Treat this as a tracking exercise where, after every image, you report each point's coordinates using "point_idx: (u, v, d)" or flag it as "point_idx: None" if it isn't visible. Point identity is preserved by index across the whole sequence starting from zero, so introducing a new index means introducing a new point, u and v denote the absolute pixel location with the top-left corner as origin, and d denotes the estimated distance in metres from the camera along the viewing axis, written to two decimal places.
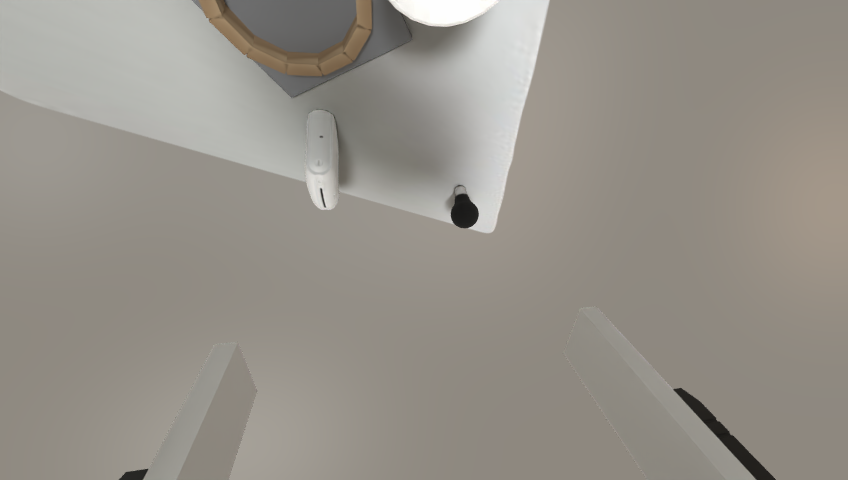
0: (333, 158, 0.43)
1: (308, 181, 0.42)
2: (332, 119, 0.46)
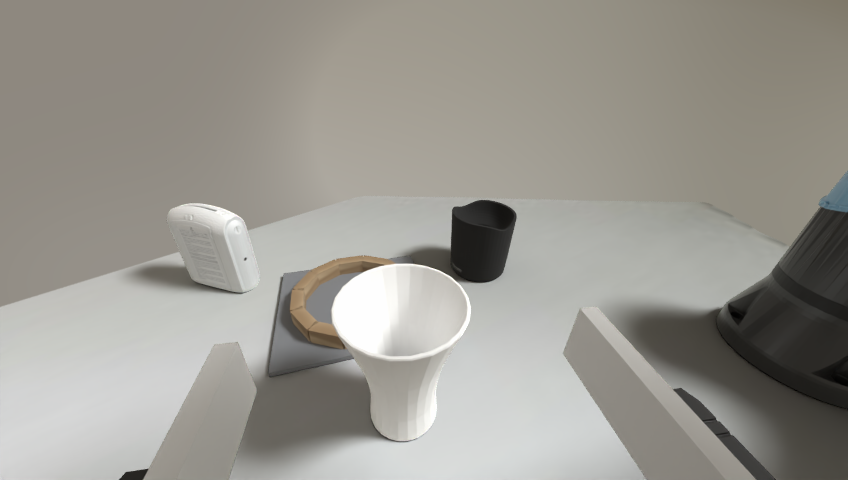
0: (224, 244, 0.40)
1: None
2: (241, 286, 0.44)
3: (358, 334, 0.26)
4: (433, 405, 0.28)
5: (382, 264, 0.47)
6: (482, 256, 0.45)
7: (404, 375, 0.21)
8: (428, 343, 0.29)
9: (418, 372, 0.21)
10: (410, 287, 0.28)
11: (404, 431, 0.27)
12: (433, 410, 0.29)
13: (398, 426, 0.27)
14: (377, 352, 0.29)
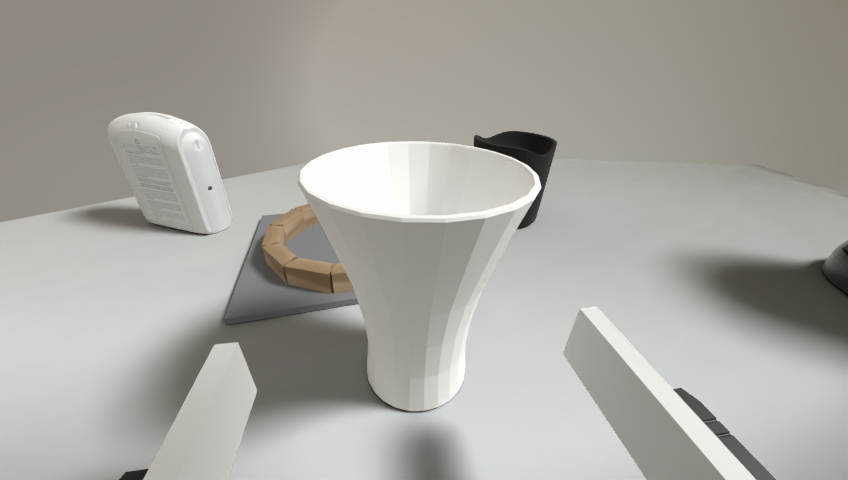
0: (180, 162, 0.30)
1: None
2: (205, 225, 0.34)
3: None
4: (462, 358, 0.19)
5: None
6: None
7: (428, 271, 0.11)
8: None
9: (453, 267, 0.12)
10: (429, 180, 0.19)
11: (419, 395, 0.17)
12: (462, 366, 0.19)
13: (410, 386, 0.17)
14: None
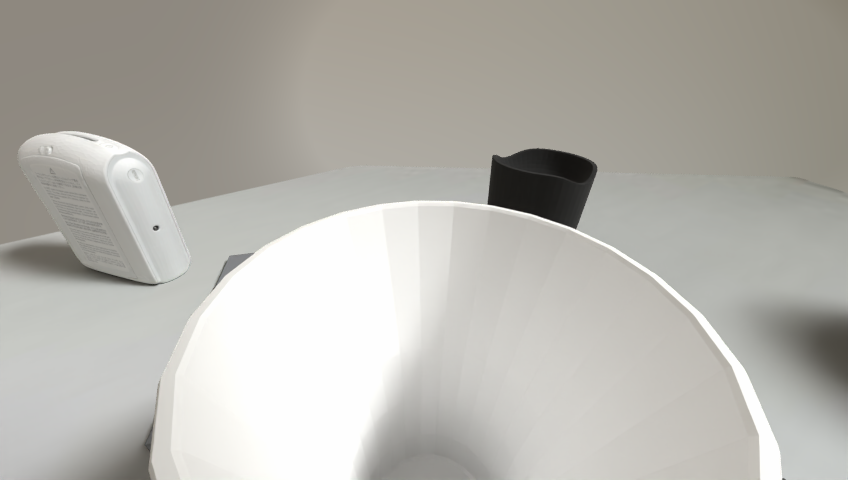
0: (110, 199, 0.23)
1: None
2: (152, 273, 0.27)
3: (314, 387, 0.09)
4: None
5: None
6: None
7: None
8: (491, 397, 0.12)
9: None
10: (452, 262, 0.11)
11: None
12: None
13: None
14: (370, 418, 0.12)
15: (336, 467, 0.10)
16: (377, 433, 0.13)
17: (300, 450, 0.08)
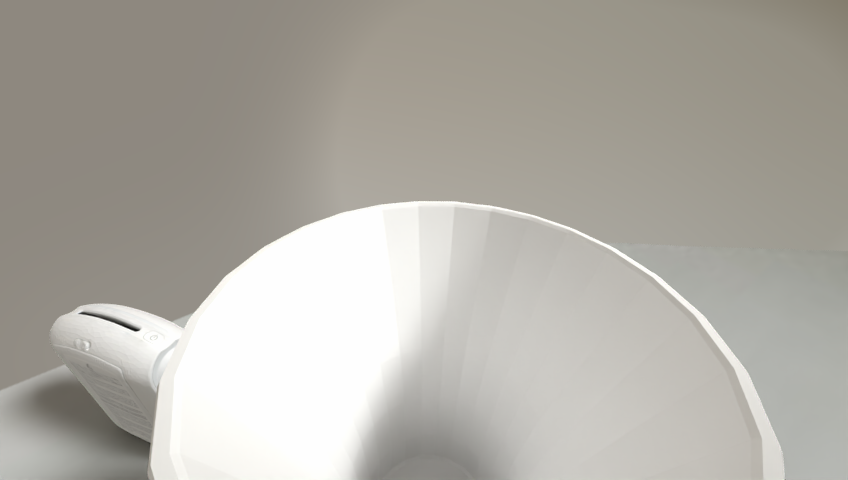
0: (154, 398, 0.20)
1: (172, 323, 0.22)
2: None
3: (314, 388, 0.09)
4: None
5: None
6: None
7: None
8: (491, 397, 0.12)
9: None
10: (452, 263, 0.11)
11: None
12: None
13: None
14: (370, 419, 0.12)
15: (336, 468, 0.10)
16: (377, 434, 0.13)
17: (300, 451, 0.08)
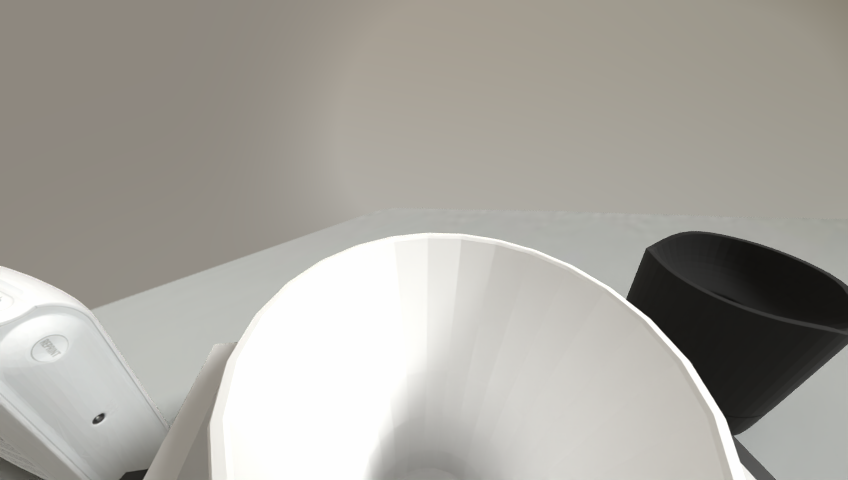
0: None
1: (42, 283, 0.13)
2: None
3: (329, 413, 0.10)
4: None
5: None
6: (761, 393, 0.17)
7: None
8: (492, 418, 0.13)
9: None
10: (458, 290, 0.12)
11: None
12: None
13: None
14: (377, 437, 0.13)
15: None
16: (383, 450, 0.13)
17: (319, 475, 0.08)
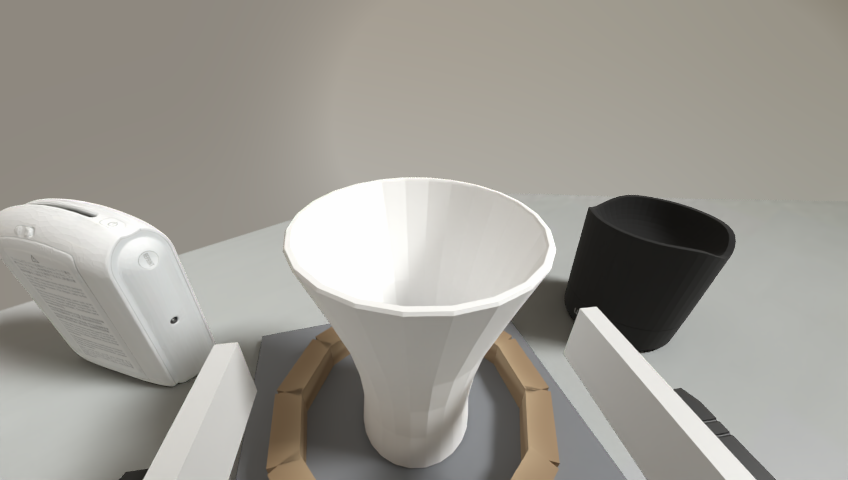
0: (114, 296, 0.17)
1: (137, 218, 0.19)
2: (169, 375, 0.20)
3: (342, 289, 0.15)
4: (465, 408, 0.18)
5: None
6: (665, 308, 0.22)
7: (431, 353, 0.10)
8: None
9: (460, 347, 0.10)
10: (428, 218, 0.17)
11: (420, 453, 0.16)
12: (465, 416, 0.18)
13: (410, 445, 0.16)
14: None
15: None
16: None
17: None
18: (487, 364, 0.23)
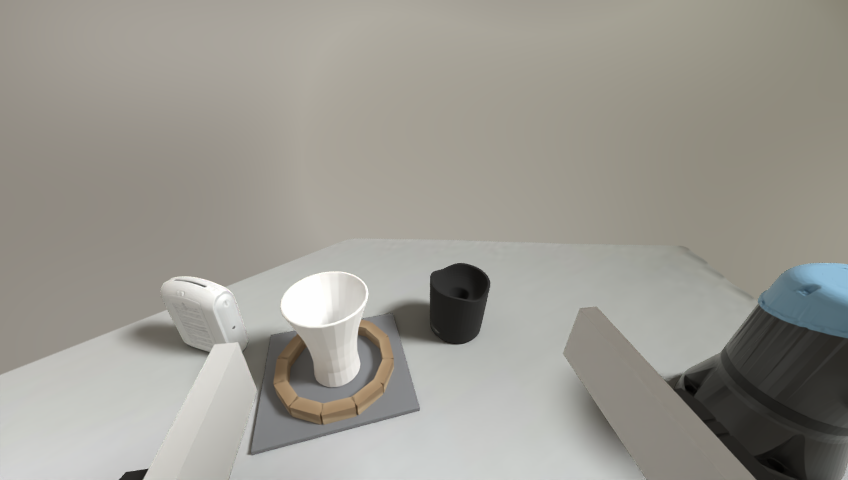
0: (214, 318, 0.43)
1: (219, 285, 0.44)
2: None
3: (302, 316, 0.41)
4: (354, 364, 0.43)
5: (364, 327, 0.50)
6: (457, 323, 0.48)
7: (321, 338, 0.36)
8: None
9: (330, 336, 0.36)
10: (339, 287, 0.43)
11: (333, 380, 0.42)
12: (354, 368, 0.43)
13: (328, 376, 0.42)
14: None
15: None
16: None
17: None
18: (376, 348, 0.48)
